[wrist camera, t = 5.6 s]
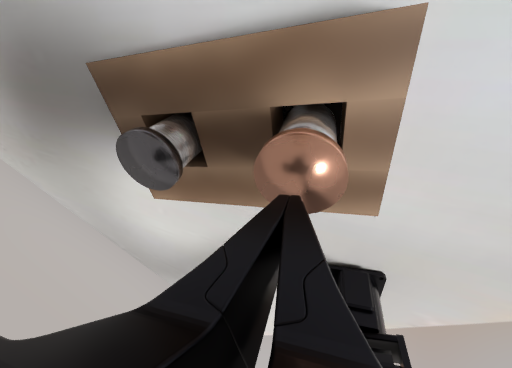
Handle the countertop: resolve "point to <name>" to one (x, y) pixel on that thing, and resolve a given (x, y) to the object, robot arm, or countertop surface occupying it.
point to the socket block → (274, 99)
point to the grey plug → (159, 151)
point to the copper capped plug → (304, 159)
